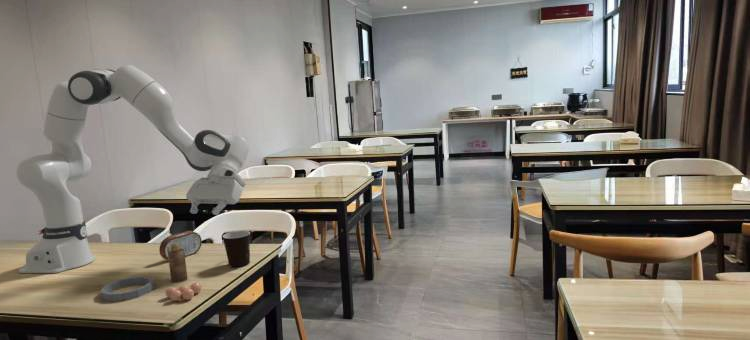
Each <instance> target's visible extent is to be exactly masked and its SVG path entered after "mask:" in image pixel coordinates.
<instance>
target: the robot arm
mask: <svg viewBox="0 0 750 340" xmlns="http://www.w3.org/2000/svg"><path fill="white" fill-rule="evenodd" d="M121 98H122V99H124V100H125V101H126V102H128V104H130V105H131V106H132V107H133V108H134V109H136V110H137V111H138V112H139V113H141V114H142V115H143V116H144V117H145V118H146V119H147V120H148V121H149V122H151V124H152V125H153V126H154V127H155V128H156V129H157V130H158V132H160V134H162V135H163V136H164V138H165V139H167V140H168V141H169V142H171V144H172V145H173V146H174V147H176V149H177V150H179V152H180V153H181V154H182V155H183V156H184V158H185V160H186V162H187V164H188V165H189V167H191V168H192V169H193V170H195V171H198V172H207V171H209V172H208V174H207V176H206V177H200V178H199V179H198V180H195V182H194V183H193V184H192V185H191V186H190V188H189V190H187V193H186V195H185V197H186V199H187V200H188V201H189V202H191V207H190V210H189V212H190V213H191V214H194V215H195V214H197V213H198V211H199V209H198V206H199V205H200V204H213V205H214V204H217V206H216V207H213V208H212V211H211V214H213V215H214V216H218V215H219V214H220V211H222V210H224V209H225V207H227V205H236V204H237V203H238V202H239V200H240V198H241V197H242V193H243V192H244V188H245V186H246V185H247V181H245V179H244V178H243V177H241V175H240V174H239V173H240V170H241V168H242V167H243V166H244V164H245V161H246V160H247V157H248V154H249V151H250V147H249V143H248V142H247V140H246V139H245V137H242V136H241V135H239V134H235V133H234V134H224V133H219V132H217V131H214V130H212V129H205V130H201V131H199V132H198V133H197V134H196V135H195V137H193V136H192V135H191V134H190V133H189V132H187V130H185V128H184V127H183V126H181V125H180V123H179V122H178V120H177V118H176V115H175V112H174V102H173V99H172V96H171V95H170V94H169V92H168V91H167V90H166V89H165V87H164V86H162V85H161V84H160V83H159V82H158V81H156V80H155V79H154V78H153V77H151V76H150V75H149V74H148V73H146V72H144V71H143V70H141V69H140V68H138V67H136V66H135V65H131V64H124V65H122V66H120V67H118V68H117V69H116V70H112V69H107V68H106V69H103V68H102V69H101V68H95V69H90V70H81V71H79V72H76V73H75V74H73V75H72V76H71V77H70V78H69V80H68V81H67V80H66V81H65V80H64V81H61V82H59V83H56V84H55V86H54V89H53V90H52V93H51V95H50V98H49V100H48V101H49V102H48V105H47V110H46V116H45V121H44V125H43V135H44V137H45V138H46V139H47V140H48V141H50V142H51V152H50V153H43V154H39V155H38V154H37V155H34V156H31V157H28V158H26V159H24V160H22V161H21V162H19V164H18V165H17V168H16V177H17V180H18V182H19V183H20V184H21V185H22V187H23V186H24V187H25V188H27V189H28V190H30V191H32V192H33V194H34V195H35V197H37V199H38V201H39V202H40V206H41V208H42V212H43V218H44V222H45V227H43V228H42V229H41V230H38V235H42V236H41V237H42V238H41V239H40V240H39V241H37V242H36V244H34V245H33V246H32V247H31V248H30V249H29V250H28V251H27V253H26V256H25V264H24V265H22V266H21V267H19V269H18V273H19V274H56V273H60V272H64V271H67V270H72V269H75V268H79V267H82V266H86V265H88V264H90V263H92V262H94V261H95V256H94V254H93V252H92V249H91V247H90V244H89V242H88V241H89V240H88V238H87V237H88V231H87V224H86V221H85V220H84V215H83V210H82V209H83V208H82V202H81V200H80V199H79V198H78V197H77V196H76V195H73V194H72V193H71V192H70V191H69V189H68V186H67V184H68V183H73V182H78V181H79V180H81V179H83V178H85V177H87V176H88V175H89V174H90V173H91V171H92V168H93V167H92V164H93V163H92V162H91V158H90V157H89V156H88V154H86V152H85V150H84V145H83V135H84V130H85V123H86V121H87V120H86V119H87V113H88V109H89V107H90V106H92V105H102V104H103V105H104V104H107V103H110V102H113V101H116V100H120V99H121Z"/></svg>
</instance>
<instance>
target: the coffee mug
mask: <svg viewBox="0 0 750 340" xmlns="http://www.w3.org/2000/svg"><path fill="white" fill-rule="evenodd" d="M222 240H223V244H224V248H225V253H226V257H227V261H228V265H229V267H230V268H235V269H236V268H242V267H243V268H244V267H247V266H249V265H250V263H251V262H250V261H251V260H250V257H251V255H250V254H251V253H250V252H251V232H250V231H249V230H236V231H235V230H234V231H230V232H227V233H225V234H223V235H222Z"/></svg>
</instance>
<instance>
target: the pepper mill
mask: <svg viewBox="0 0 750 340" xmlns="http://www.w3.org/2000/svg"><path fill="white" fill-rule="evenodd" d="M170 249H171V250H170V251H168V267H169V273H170V274H169V275H170V282H171V283H175V282H176V283H181V282H185V281H186V280H188V271H187V263H186V257H185V254H184V249H180V245H179V244H178V243H173V244H172V245H171V247H170Z"/></svg>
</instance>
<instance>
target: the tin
mask: <svg viewBox="0 0 750 340" xmlns="http://www.w3.org/2000/svg"><path fill="white" fill-rule="evenodd" d="M173 243H178V244H179V245H180V249H184V254H185V258H186V257H189V256H192V255H195V254H196V253H198V252H199V250H200V249H201V247H202V237H201V235H200V234H199V233H198V232H195V231H193V230H187V231H183V232H180V233H176V234H172V235H169V236H166V237H165V238H164V239H163V240H162V241H161V242H160V245H159V254H160V256H161V258H162V259H164V260H166V261H167V260H168V251H170V250H171V249H170V247H171V245H172V244H173ZM168 261H169V260H168Z"/></svg>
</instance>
